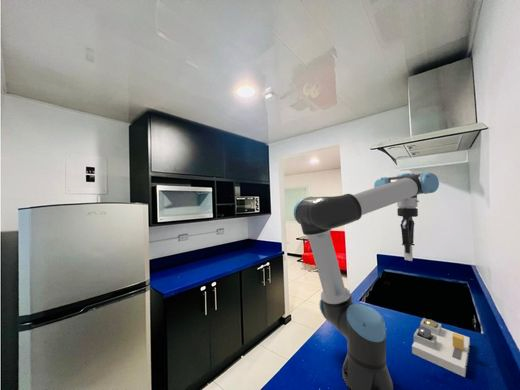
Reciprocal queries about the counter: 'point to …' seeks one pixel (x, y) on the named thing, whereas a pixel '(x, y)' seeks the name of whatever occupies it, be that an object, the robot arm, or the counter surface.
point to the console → (441, 349)
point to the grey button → (425, 333)
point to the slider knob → (458, 341)
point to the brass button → (431, 323)
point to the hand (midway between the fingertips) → (408, 259)
